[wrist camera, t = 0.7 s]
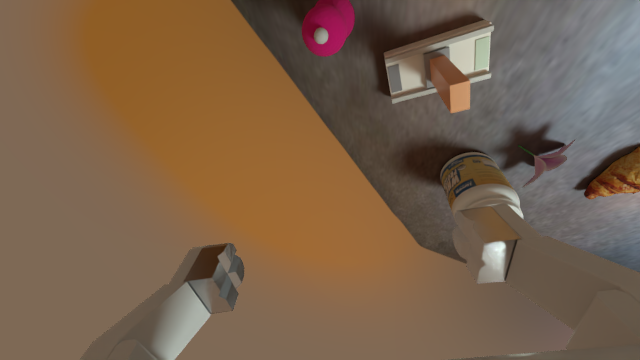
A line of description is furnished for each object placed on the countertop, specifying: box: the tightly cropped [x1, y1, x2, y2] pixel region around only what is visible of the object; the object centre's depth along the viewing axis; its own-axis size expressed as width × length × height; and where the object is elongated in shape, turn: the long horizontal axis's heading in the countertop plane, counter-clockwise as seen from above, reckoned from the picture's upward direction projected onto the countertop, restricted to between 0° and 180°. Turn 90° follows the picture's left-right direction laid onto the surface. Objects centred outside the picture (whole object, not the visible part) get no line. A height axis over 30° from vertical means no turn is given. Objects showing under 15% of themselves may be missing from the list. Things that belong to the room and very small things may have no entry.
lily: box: [518, 140, 575, 188], centre depth 53 cm, size 12×12×10 cm
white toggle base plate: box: [383, 20, 494, 103], centre depth 46 cm, size 17×9×4 cm, turn 110°
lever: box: [423, 46, 470, 113], centre depth 40 cm, size 4×6×15 cm, turn 20°
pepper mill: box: [302, 0, 355, 56], centre depth 38 cm, size 7×7×20 cm
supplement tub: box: [440, 152, 523, 219], centre depth 55 cm, size 12×12×17 cm
